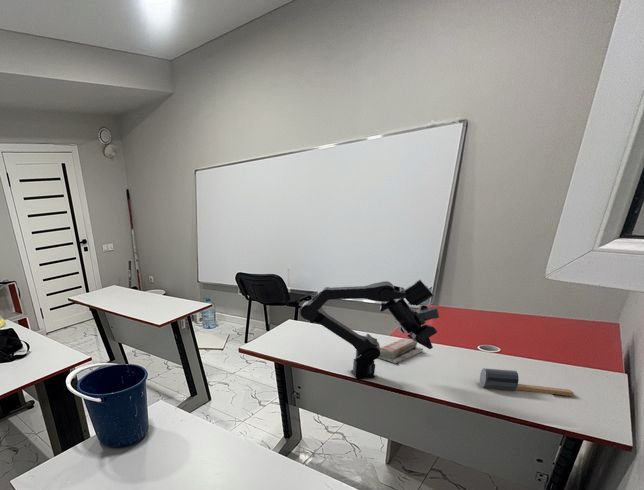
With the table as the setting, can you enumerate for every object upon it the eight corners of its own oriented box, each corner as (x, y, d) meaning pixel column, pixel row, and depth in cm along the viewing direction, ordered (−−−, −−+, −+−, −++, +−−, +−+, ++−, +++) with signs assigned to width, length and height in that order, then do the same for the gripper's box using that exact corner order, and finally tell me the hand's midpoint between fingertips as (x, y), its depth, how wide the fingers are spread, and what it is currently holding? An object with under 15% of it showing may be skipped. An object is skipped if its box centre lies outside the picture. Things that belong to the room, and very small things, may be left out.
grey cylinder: (487, 378, 114) (520, 381, 111) (484, 364, 118) (516, 366, 114) (481, 391, 118) (513, 394, 115) (478, 376, 122) (509, 379, 119)
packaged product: (397, 353, 138) (373, 346, 146) (396, 364, 140) (372, 356, 148) (425, 340, 145) (400, 334, 154) (423, 351, 147) (399, 345, 156)
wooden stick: (494, 383, 116) (573, 392, 108) (492, 380, 118) (569, 389, 110) (493, 387, 117) (572, 396, 109) (491, 384, 119) (568, 393, 111)
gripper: (437, 301, 110) (468, 340, 110) (415, 295, 127) (442, 328, 128) (403, 323, 114) (433, 361, 114) (386, 314, 131) (412, 347, 132)
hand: (431, 348), depth 122 cm, fingers closed
